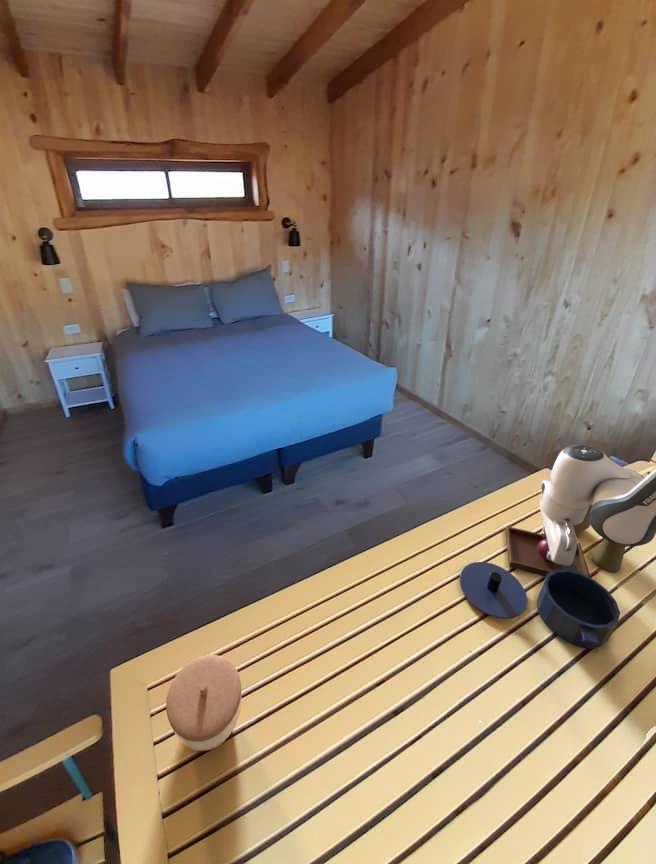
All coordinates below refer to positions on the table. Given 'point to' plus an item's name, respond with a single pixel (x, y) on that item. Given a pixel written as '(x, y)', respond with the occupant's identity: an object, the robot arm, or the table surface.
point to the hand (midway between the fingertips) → (547, 547)
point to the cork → (608, 556)
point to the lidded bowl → (204, 702)
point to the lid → (493, 590)
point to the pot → (577, 608)
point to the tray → (535, 554)
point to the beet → (543, 548)
